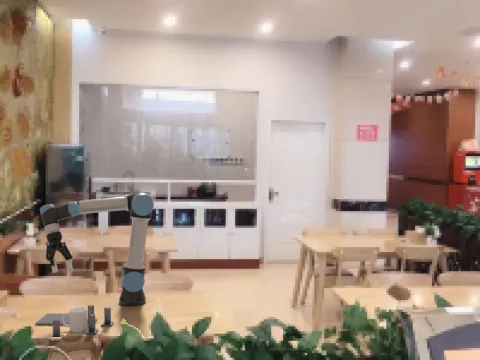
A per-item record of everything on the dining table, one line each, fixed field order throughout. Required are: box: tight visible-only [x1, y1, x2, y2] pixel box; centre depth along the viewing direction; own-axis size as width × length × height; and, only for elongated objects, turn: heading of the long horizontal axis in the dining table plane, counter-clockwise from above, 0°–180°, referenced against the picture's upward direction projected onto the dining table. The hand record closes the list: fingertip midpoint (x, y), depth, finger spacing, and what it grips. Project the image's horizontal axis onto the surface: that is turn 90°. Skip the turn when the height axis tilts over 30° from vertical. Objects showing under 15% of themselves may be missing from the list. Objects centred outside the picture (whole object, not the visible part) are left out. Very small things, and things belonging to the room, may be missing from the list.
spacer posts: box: [51, 304, 115, 337], centre depth 248 cm, size 23×29×8 cm
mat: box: [34, 313, 70, 326], centre depth 264 cm, size 20×16×1 cm
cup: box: [62, 306, 88, 334], centre depth 248 cm, size 8×12×10 cm
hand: (63, 272), depth 263 cm, fingers open, 13 cm apart
